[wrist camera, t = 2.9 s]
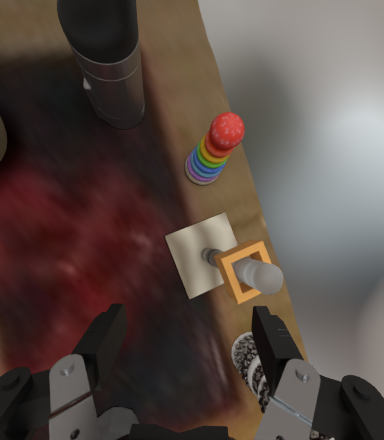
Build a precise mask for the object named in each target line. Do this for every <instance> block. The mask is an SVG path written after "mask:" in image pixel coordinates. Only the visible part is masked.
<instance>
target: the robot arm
mask: <svg viewBox="0 0 384 440" xmlns="http://www.w3.org/2000/svg"><path fill="white" fill-rule="evenodd" d="M57 12H58V17H59V21H60V24H61V26H62V29H63V31H64V33H65V35H66V37H67V39H68V42H69V44H70V46H71V48H72V51H73V53H74V55H75V57H76V59H77V62H78V64H79V66H80V68H81V70H82V73H83V75H84V84H83V86H84V89H85V91H86V94H87V96H88V98H89V100H90V102H91V104H92V106H93V108H94V110H95V112H96V114H97V116H98V118H99V119H102V120H105V121H106V122H107V123H108V124H109V125H111V126H113V127H115V128H118V129H130V128H133V127H135V126H137V125H138V124H139V123H140V122H141V120H142V119H143V116H144V112H145V109H144V106H145V105H144V95H143V83H142V70H141V58H140V46H139V35H138V23H137V10H136V0H57ZM126 332H127V317H126V307H125V304H111V306H110V307H109V309H108V310H107V312H102V313H101V314H100V315H98V316H97V317H96V318H95V319H94V320H93V322H92V323H91V325H90V327H89V328H88V329H87V331H86V333H85V334H84V335H83V337H82V338H81V340H80V341H79V343H78V344H77V346H76V347H75V349H74V350H73V352H72V353H71V355H68V356H66V357H64V358H62V359H60V360H59V361H58V362H57V363H56V364H55V365H54V366H53V367H52V369H49V370H46V371H42V372H38V373H35V374H31V371H30V369H29V368H27V367H18V368H15V369H12V370H10V371H8V372H7V373H5V374H4V375H2V376H1V377H0V440H32V438H33V436H34V434H35V433H36V431H37V429H38V428H39V427H42V426H45V425H48V424H49V435H50V440H102V437H101V433H100V428H99V424H98V419H97V415H96V411H95V406H94V402H93V398H92V395H93V392H94V391H102V390H103V387H104V385H105V383H106V380H107V378H108V376H109V373H110V371H111V369H112V366H113V364H114V361H115V359H116V357H117V354H118V352H119V350H120V347H121V345H122V343H123V340H124V338H125V335H126ZM252 336H253V340H254V343H255V346H256V350H257V353H258V356H259V359H260V362H261V366H262V369H263V372H264V375H265V378H266V381H267V385H268V388H269V391H270V394H271V396H272V397H271V398H270V401H269V403H268V405H267V408H266V410H265V413H264V415H263V418H262V420H261V423H260V425H259V428H258V430H257V433H256V436H255V438H254V440H309V437H310V432H311V429H312V430H314V431H317V432H319V433H322V434H324V435H327V436H329V437H332V438H334V439H335V440H384V398H383V397H382V396H381V394H380V393H379V392H378V390H377V389H376V388H375V387H374V386H372V385H371V384H370V383H369V382H367V381H366V380H364V379H362V378H360V377H357V376H354V375H347V376H344V377H343V378H342V381H341V382H340V381H337V380H333V379H330V378H327V377H324V376H322V375H319V374H318V372H317V371H316V369H315V368H314V367H313V366H311V365H310V364H309V363H307V362H306V361H304V359H303V357H302V355H301V353H300V352H299V350H298V348H297V346H296V344H295V342H294V341H293V339H292V337H291V335H290V333H289V331H288V330H287V328H286V326H285V324H284V322H283V321H282V320H281V319H280V318H279V317H278V316H277V315H271V314H270V312H269V310H268V308H267V306H254V307H253V315H252ZM273 396H274V397H273ZM116 440H235V439H234V438H231V437H229V436H228V428H227V427H226V426H201V427H198V428H195V429H191V430H188V431H185V432H181V433H177V432H174V431H171V430H169V429H166V428H163V427H161V426H158V425H156V424H132V425H131V429H130V433H129V434H126V435H124V436H122V437H120V438H118V439H116Z"/></svg>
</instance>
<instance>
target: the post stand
mask: <svg viewBox="0 0 384 440" xmlns="http://www.w3.org/2000/svg"><path fill="white" fill-rule="evenodd" d="M165 238H166V241H167V244H168V246H169V249H170V251H171V254H172V256H173V259H174V261H175V264H176V267H177V269H178V272H179V274H180V277H181V279H182V282H183V284H184V287H185V290H186V292H187V295H188V297H189V299H191V298H194V297H196V296H198V295H200V294H202V293H204V292H206V291H208V290H211V289H213V288H215V287H217V286H219V285H221V284H223V283H224V281H223V279H222V276H221V274H220V271H219V268H218V266H217V263H216V261H215V258H214V256H215V255H218V254H220V253H222V252H225V251H227V250H229V249H231V248H234V247H236V246H238V245H237V242H236V239H235V237H234V234H233V232H232V229H231V227H230V224H229V221H228V219H227V216H226V214H225V213H222V214H219V215H217V216H214V217H212V218H209V219H207V220H204V221H201V222H199V223H196V224H194V225H191V226H189V227H186V228H184V229H181V230H179V231H176V232H174V233H171V234H169V235H166V236H165ZM231 265H232V268H233V270H234V273H235V275H236V278H237V279H238V280H240V281H242V282H243V283H245V284H247V285H249V286H251V287H252V288H254V289H256V290H258V291H260V292H261V293H263V294H266V295H272V294H275V293H277V292H278V291H279V290H280V289H281V287H282V284H283V274H282V272H281V270H280V269H279V268H278V267H277V266H275V265H273V264H269V263H266V262H262V261H258V260H254V259H250V258H247V257H244V258H241V259H239V260H237V261H235V262H233V263H231Z"/></svg>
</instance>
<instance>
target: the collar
mask: <svg viewBox="0 0 384 440" xmlns="http://www.w3.org/2000/svg"><path fill="white" fill-rule="evenodd" d="M248 255H250V256H251V259H254V260H258V261H262V262H266V263H269V264H271V261H270V259H269V256H268V254H267V251H266V248H265V246H264V243H263V241H259V240H250V241H247V242H245V243H243V244H241V245H238V246H236V247H234V248H231V249H229V250H227V251H225V252H222V253H220V254H218V255H215V256H214V258H215V261H216V263H217V266H218V268H219V271H220V274H221V276H222V279H223V281H224V284H225V286H226V289H227V292H228V294H229V297H231V298H232V299H233V300H234V301H235V302H236V303H238V304H241V303H243V302H245V301H247V300H249V299H251V298H253V297H255V296H257V295H259V294H261V292H260V291H258V290H256V289H254V288H252V287H251V286H249V285H247V284H245V283H241V284H239V283H238V280H237V278H236V275H235V273H234V270H233V268H232V265H231V263H233V262H235V261H237V260H239V259H241V258H244V257H246V256H248Z"/></svg>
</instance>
